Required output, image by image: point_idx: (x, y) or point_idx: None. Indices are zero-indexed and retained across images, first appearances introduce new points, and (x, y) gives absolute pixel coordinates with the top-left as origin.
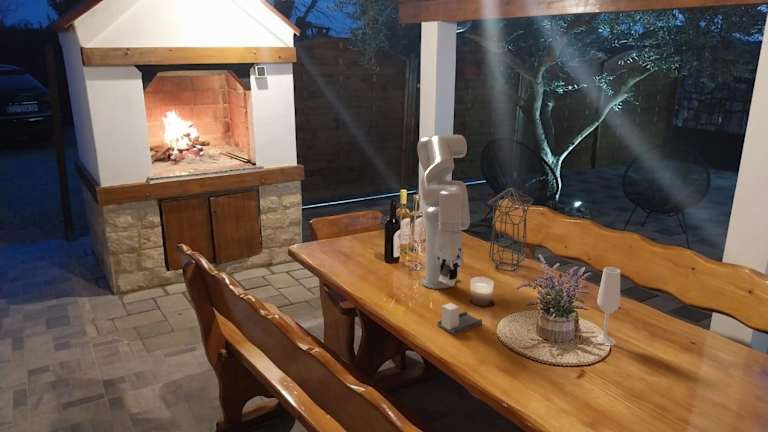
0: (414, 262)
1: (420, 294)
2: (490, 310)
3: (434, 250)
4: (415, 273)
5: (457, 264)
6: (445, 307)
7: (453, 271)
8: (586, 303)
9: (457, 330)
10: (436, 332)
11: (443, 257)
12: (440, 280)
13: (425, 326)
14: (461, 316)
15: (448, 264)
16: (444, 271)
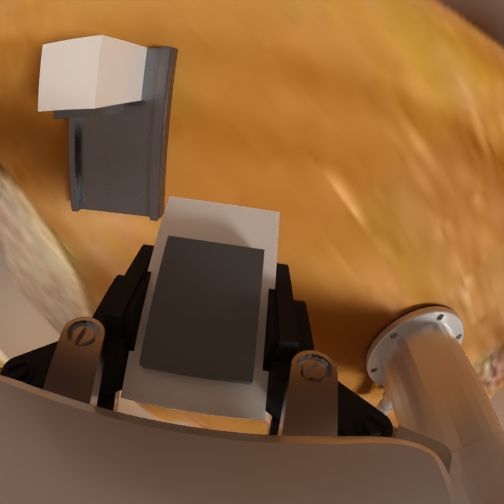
0: (499, 378)
1: (430, 248)
2: None
3: (455, 501)
4: (488, 345)
5: (4, 372)
6: (75, 39)
7: (95, 312)
8: None
9: None
10: (141, 9)
11: (149, 449)
12: (248, 210)
13: (214, 8)
14: (147, 179)
15: (207, 389)
16: (216, 289)
